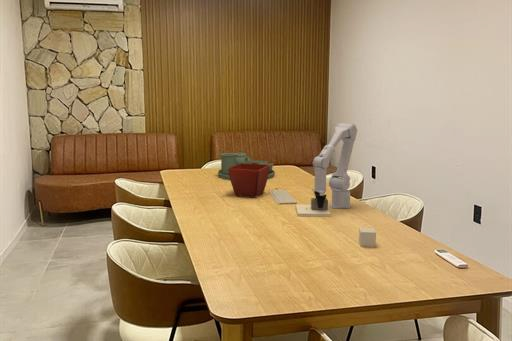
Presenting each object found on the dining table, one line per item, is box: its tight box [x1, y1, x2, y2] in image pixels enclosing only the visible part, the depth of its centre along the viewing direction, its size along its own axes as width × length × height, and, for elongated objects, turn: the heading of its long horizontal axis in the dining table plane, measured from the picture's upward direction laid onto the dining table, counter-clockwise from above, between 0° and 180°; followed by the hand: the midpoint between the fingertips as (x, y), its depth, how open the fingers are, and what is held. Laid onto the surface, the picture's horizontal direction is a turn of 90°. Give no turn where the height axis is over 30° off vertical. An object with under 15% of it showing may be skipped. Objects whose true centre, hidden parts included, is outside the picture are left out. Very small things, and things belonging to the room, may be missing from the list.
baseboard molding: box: [267, 187, 298, 206], centre depth 279 cm, size 31×3×12 cm
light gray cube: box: [358, 227, 377, 248], centre depth 199 cm, size 6×6×6 cm
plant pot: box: [228, 163, 270, 198], centre depth 285 cm, size 19×19×17 cm
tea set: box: [217, 151, 276, 181], centre depth 344 cm, size 40×40×16 cm
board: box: [294, 204, 332, 218], centre depth 249 cm, size 16×18×2 cm
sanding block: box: [310, 197, 329, 210], centre depth 248 cm, size 8×5×5 cm, turn 90°
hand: (319, 206), depth 248 cm, fingers closed on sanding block, 5 cm apart
